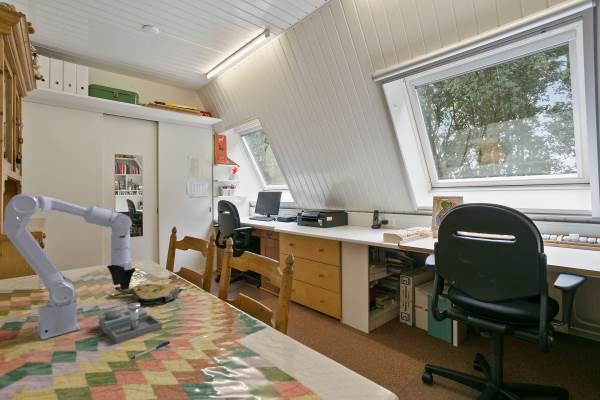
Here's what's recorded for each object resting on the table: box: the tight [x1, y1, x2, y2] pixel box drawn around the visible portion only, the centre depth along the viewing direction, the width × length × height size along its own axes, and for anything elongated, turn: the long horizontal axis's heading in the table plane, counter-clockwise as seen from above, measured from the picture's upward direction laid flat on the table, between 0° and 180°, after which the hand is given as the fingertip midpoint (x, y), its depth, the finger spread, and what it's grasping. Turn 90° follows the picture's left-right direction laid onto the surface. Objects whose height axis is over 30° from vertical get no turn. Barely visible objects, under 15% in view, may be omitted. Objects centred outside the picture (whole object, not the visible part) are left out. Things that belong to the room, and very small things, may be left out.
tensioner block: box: [98, 306, 148, 334], centre depth 98 cm, size 12×7×4 cm, turn 138°
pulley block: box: [114, 283, 187, 307], centre depth 122 cm, size 14×6×30 cm
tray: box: [105, 314, 163, 345], centre depth 93 cm, size 13×9×2 cm
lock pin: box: [126, 302, 141, 331], centre depth 93 cm, size 4×4×8 cm
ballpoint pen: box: [130, 340, 171, 360], centre depth 82 cm, size 10×1×1 cm, turn 145°
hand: (121, 286), depth 104 cm, fingers open, 7 cm apart
